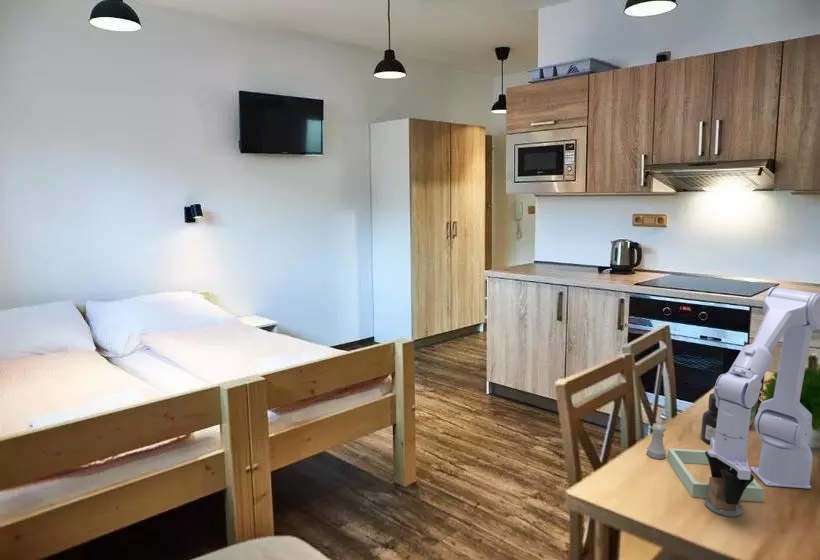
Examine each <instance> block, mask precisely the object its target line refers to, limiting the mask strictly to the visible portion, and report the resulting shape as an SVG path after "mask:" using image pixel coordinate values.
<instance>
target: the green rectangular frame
mask: <svg viewBox="0 0 820 560" xmlns="http://www.w3.org/2000/svg"><path fill="white" fill-rule="evenodd" d="M706 451H707V450H703V449H702V450H701V449H685V448H684V449H683V448H669V447H668V448H667V455H666V457H667V458H666V460H667V461H668V463H669V465H670V467H672V469H673V471H674V472H675V474H676V476H677V477H678V479H680V481H681V482H682V484H683V486H684V487H685V488H686V490H687V492H688V493H689V495H690V497H692V498H701V499H706V498H707V497H708V488H709V482H703V481H697V480H696V478H695V477H694V476H693V475H692V474H691V472H690V471H689V469H688V468H687V466H686V465H685V464H696V465H709V462H708V459H707V457H706V454H705V452H706ZM731 468H732V467H731ZM730 470H731V469H730ZM757 481H758V480H756V479H755V478H754V479H753V481H752V482H751V483H750V484H749V485H748V486H747V487H746V489H745V490H744V492H743V494H742V496H741V498H740V501H744V502H756V503H762V502H763V496H764V495H763V494H764V488H763V487H762V485H760V483H759V482H757ZM740 501H739V502H740Z"/></svg>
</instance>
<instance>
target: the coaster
mask: <svg viewBox="0 0 820 560" xmlns="http://www.w3.org/2000/svg"><path fill="white" fill-rule="evenodd" d="M707 498H708V497H707ZM707 498H704V506H705V508H706V509H707V510H709V512H711V513H714V514H716V515H718V516H721V517H726V518H739V517H742V515H743V514H744V507H743V506H742V505H741V504H740V503H738V504H737V505H736V511H729V510H716V509H714V508H713V506H712V505H711V503H710V502H709V501H708V499H707Z"/></svg>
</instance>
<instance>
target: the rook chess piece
mask: <svg viewBox="0 0 820 560" xmlns="http://www.w3.org/2000/svg"><path fill="white" fill-rule="evenodd" d="M650 429H651V430H652V432H651V435H652V437H651V441H650V443H649V445H648V446H647V447H646V450H647V451H646V454H647V455H648V457H649V458H652V459H654V460H663V459H665V458H666V457H667V449H666V448H665V445H664V437H665V434H664V432H666V428H665V425H664V424H663V423H660V422H654V423H653V424H652V426H651V428H650Z"/></svg>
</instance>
